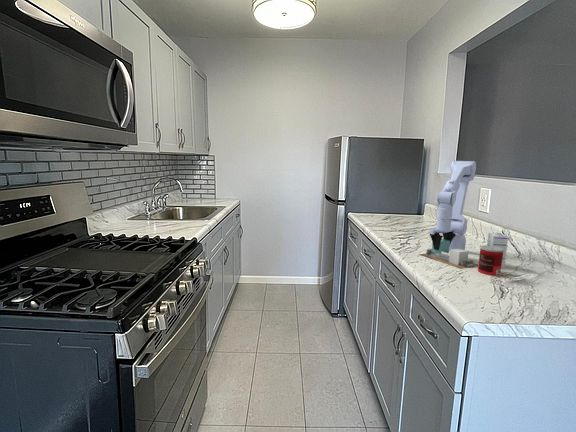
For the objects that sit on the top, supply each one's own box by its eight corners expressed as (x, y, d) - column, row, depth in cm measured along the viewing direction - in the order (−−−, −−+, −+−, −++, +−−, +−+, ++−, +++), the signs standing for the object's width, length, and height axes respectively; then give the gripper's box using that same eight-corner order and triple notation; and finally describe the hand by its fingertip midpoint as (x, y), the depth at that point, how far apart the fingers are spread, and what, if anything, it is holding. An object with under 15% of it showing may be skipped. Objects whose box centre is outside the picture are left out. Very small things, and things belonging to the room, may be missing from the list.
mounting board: (436, 254, 161) (437, 251, 161) (480, 268, 142) (480, 265, 142) (417, 256, 156) (418, 254, 156) (460, 271, 137) (460, 268, 137)
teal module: (440, 250, 156) (441, 238, 155) (448, 252, 152) (449, 240, 151) (431, 251, 153) (432, 239, 152) (439, 254, 149) (440, 241, 148)
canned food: (497, 273, 136) (500, 246, 134) (502, 279, 129) (506, 251, 127) (475, 270, 138) (478, 244, 137) (479, 277, 131) (482, 249, 129)
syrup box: (504, 270, 139) (509, 236, 137) (488, 269, 141) (493, 235, 138) (499, 266, 145) (503, 233, 142) (483, 265, 146) (488, 232, 144)
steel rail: (432, 252, 159) (432, 248, 159) (473, 266, 141) (473, 261, 140) (425, 253, 157) (425, 249, 157) (466, 267, 139) (466, 262, 138)
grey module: (457, 260, 148) (459, 248, 147) (467, 263, 144) (468, 251, 143) (448, 262, 145) (450, 249, 144) (458, 265, 141) (459, 252, 140)
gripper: (448, 216, 156) (445, 245, 158) (425, 218, 150) (422, 248, 152) (461, 219, 150) (458, 249, 152) (438, 220, 144) (434, 252, 146)
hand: (441, 249), depth 152 cm, fingers closed on teal module, 6 cm apart
